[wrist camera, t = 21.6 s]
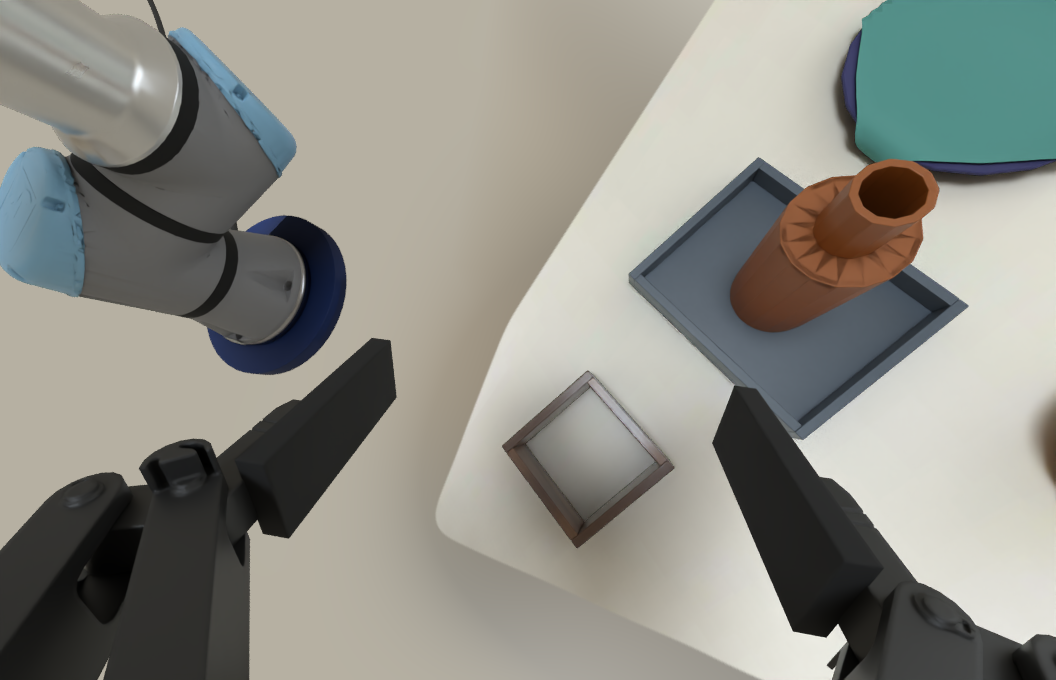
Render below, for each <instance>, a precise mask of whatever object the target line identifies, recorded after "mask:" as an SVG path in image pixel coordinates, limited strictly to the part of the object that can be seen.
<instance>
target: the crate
mask: <svg viewBox="0 0 1056 680" xmlns="http://www.w3.org/2000/svg"><path fill="white" fill-rule="evenodd" d="M590 387H591V388H592V389H593V390H594V391H595V392H596V394H597V395H598V396H599V397H600V398H601V399H602V400H603V401H604V403H605V404H606V405H607V406H608V407H609V408H610V409H611V411H612V412H613V413H614V414H615V415H616V416H617V417H618V419H619V420H620V421H621V422H622V423H623V424H624V425H625V426H626V428H627V429H628V430H629V431H630V432H631V433H632V434H633V436H634V437H635V438H636V439H637V440H638V441H639V442H640V444H641V445H642V446H643V447H644V448H645V449H646V450H647V451H648V453H649V454H650V455H651V456H652V457H653V458H654V459H655V461H656V462H655V463H654V464H653V465H651V466H650V467H649V468H648V469H647V470H645V471H644V472H643V473H642V474H641V475H639V476H638V477H637V478H636V479H635V480H633V481H632V482H631V483H630V484H629V485H627V486H626V487H625V488H624V489H623V490H621V491H620V492H619V493H618V494H617V495H615V496H614V497H613V498H612V499H611V500H609V501H608V502H607V503H606V504H605V505H603V506H602V507H601V508H600V509H599V510H597V511H596V512H595V513H594V514H593V515H592V516H590V517H589V518H588V519H587V520H586V521H583V520H582V518H581V517H580V516H579V514H578V513H577V512H576V510H575V509H574V508H573V506H572V505H571V504H570V502H569V501H568V500H567V498H566V497H565V496H564V495H563V493H562V492H561V491H560V489H559V488H558V487H557V485H556V484H555V483H554V481H553V480H552V479H551V477H550V476H549V475H548V474H547V472H546V471H545V470H544V468H543V467H542V466H541V464H540V463H539V462H538V460H537V459H536V458H535V456H534V455H533V454H532V453H531V451H530V450H529V449H528V447H527V446H526V445H525V444H526V443H527V442H528V441H529V440H530V439H531V438H532V437H534V436H535V435H536V434H537V433H538V432H539V431H540V430H542V429H543V428H544V427H545V426H546V425H547V424H548V423H550V422H551V421H552V420H553V419H554V418H555V417H556V416H558V415H559V414H560V413H561V412H562V411H563V410H564V409H566V408H567V407H568V406H569V405H570V404H571V403H572V402H574V401H575V400H576V399H577V398H578V397H579V396H580V395H582V394H583V393H584V392H585V391H586V390H587V389H588V388H590ZM502 447H503V449H504V450H505V452H506V453H507V454H508V456H509V457H510V458H511V460H512V461H513V463H514V464H515V465H516V467H517V468H518V469H519V471H520V472H521V473H522V475H523V476H524V478H525V479H526V480H527V482H528V483H529V484H530V486H531V487H532V488H533V490H534V491H535V492H536V494H537V495H538V497H539V498H540V499H541V501H542V502H543V503H544V505H545V506H546V507H547V509H548V510H549V512H550V513H551V514H552V516H553V517H554V518H555V520H556V521H557V522H558V524H559V525H560V526H561V528H562V529H563V531H564V532H565V533H566V535H567V536H568V537H569V539H570V540H571V541H572V543H573V544H574V545H575V547H576V548H579V547H580V546H581V545H582V544H584V543H585V542H586V541H587V540H588V539H590V538H591V537H592V536H593V535H594V534H596V533H597V532H598V531H599V530H600V529H602V528H603V527H604V526H605V525H607V524H608V523H609V522H610V521H611V520H613V519H614V518H615V517H616V516H617V515H619V514H620V513H621V512H622V511H623V510H625V509H626V508H627V507H628V506H629V505H631V504H632V503H633V502H634V501H635V500H637V499H638V498H639V497H640V496H642V495H643V494H644V493H645V492H646V491H648V490H649V489H650V488H651V487H652V486H654V485H655V484H656V483H657V482H658V481H660V480H661V479H662V478H663V477H664V476H666V475H667V474H668V473H669V472H671V471H672V470H673V469H674V466H673V464H672V463H671V461H670V460H669V459H668V458H667V457H666V456H665V455H664V453H663V452H662V451H661V450H660V449H659V448H658V447H657V445H656V444H655V443H654V442H653V441H652V440H651V439H650V438H649V437H648V435H647V434H646V433H645V432H644V431H643V430H642V429H641V428H640V426H639V425H638V424H637V423H636V422H635V421H634V420H633V419H632V418H631V416H630V415H629V414H628V413H627V412H626V411H625V410H624V409H623V407H622V406H621V405H620V404H619V403H618V402H617V401H616V400H615V399H614V397H613V396H612V395H611V394H610V393H609V392H608V391H607V390H606V388H605V387H604V386H603V385H602V384H601V383H600V382H599V381H598V380H597V378H596V377H595V376H594V375H593V374H592V373H590V372H589V371H586V372H585V373H584V374H583V375H582V376H581V377H580V378H578V379H577V380H576V381H575V382H574V383H573V384H572V385H570V386H569V387H568V388H567V389H566V390H565V391H564V392H563V393H561V394H560V395H559V396H558V397H557V398H556V399H555V400H553V401H552V402H551V403H550V404H549V405H548V406H547V407H546V408H544V409H543V410H542V411H541V412H540V413H539V414H538V415H536V416H535V417H534V418H533V419H532V420H531V421H530V422H528V423H527V424H526V425H525V426H524V427H523V428H522V429H521V430H519V431H518V432H517V433H516V434H515V435H514V436H513V437H511V438H510V439H509V440H508V441H507V442H506V443H505V444H504V445H502Z"/></svg>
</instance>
